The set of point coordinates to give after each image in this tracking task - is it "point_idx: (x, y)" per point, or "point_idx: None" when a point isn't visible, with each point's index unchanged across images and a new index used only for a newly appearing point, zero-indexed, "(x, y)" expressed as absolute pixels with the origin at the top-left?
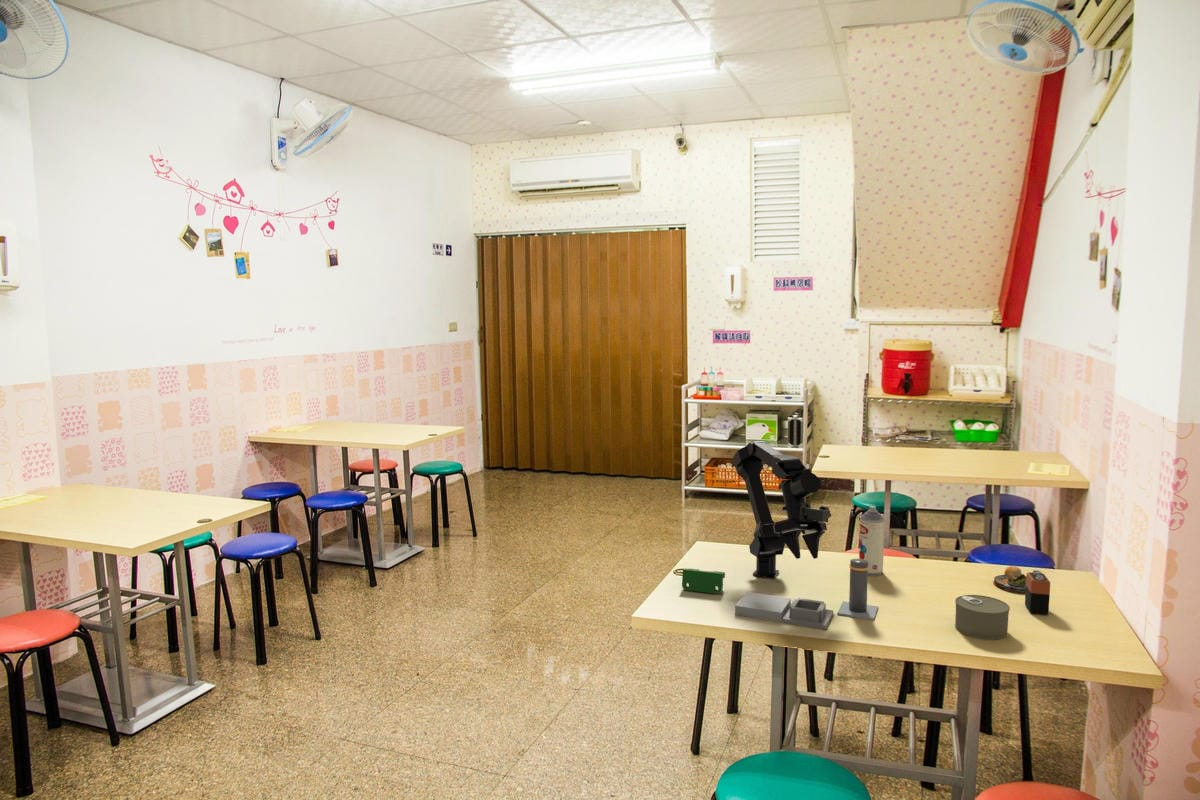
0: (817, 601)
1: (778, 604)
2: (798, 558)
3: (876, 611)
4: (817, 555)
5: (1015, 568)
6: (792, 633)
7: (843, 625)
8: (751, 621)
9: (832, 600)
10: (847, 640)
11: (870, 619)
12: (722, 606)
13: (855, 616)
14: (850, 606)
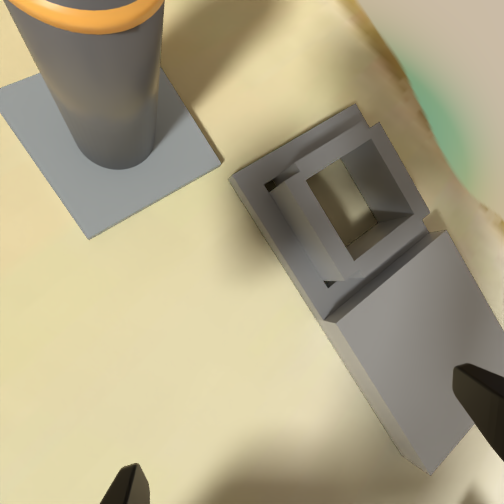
0: (306, 201)
1: (411, 296)
2: (455, 376)
3: None
4: (116, 486)
5: None
6: (438, 156)
7: (275, 92)
8: None
9: (104, 290)
10: (347, 20)
11: None
12: (485, 440)
13: (181, 102)
14: (154, 138)
